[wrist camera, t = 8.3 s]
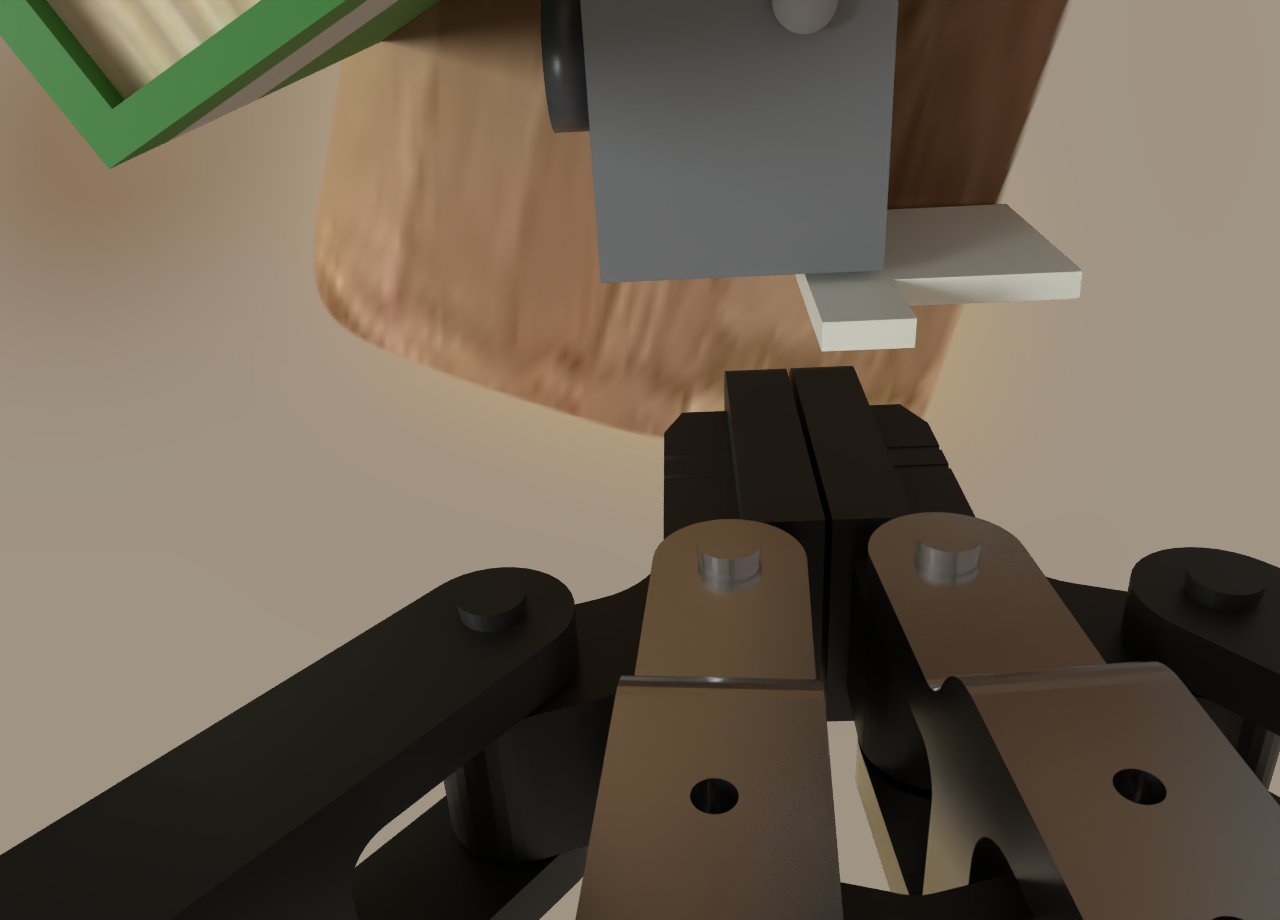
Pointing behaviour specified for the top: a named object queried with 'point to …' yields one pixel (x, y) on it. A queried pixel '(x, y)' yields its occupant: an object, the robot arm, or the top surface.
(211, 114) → the hardback book
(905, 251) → the side door
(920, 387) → the top surface
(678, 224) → the camera housing
